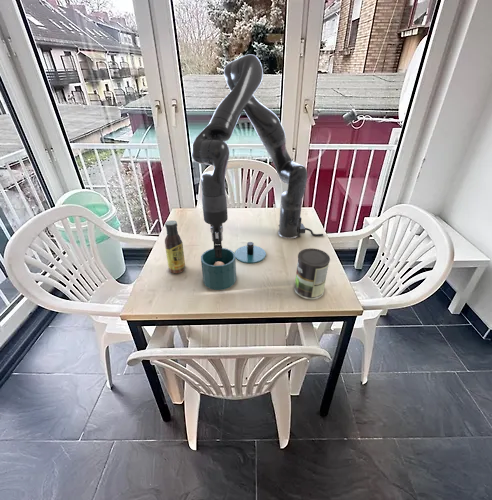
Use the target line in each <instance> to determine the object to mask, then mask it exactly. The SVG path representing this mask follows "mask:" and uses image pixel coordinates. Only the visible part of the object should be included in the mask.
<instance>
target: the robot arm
mask: <svg viewBox="0 0 492 500" xmlns="http://www.w3.org/2000/svg"><path fill="white" fill-rule="evenodd" d="M223 75H224V79H225V83H226V84H227V87H228V88H229V90H230V91H229V92H228V94H227V95H226V96H225V97H224V98H223V99H222V101H221V102H220V103H219V104H218V106H217V107H216V108H215V110H214V112H213V114H212V117H211V118H210V121H209V123H208V124H207V125H206V126H205V127H204V128H203V129H202V130H201V131H200V132H199V134H197V136H196V137H195V139H194V140H193V142H192V145H191V148H190V153H191V157H192V160H193V161H194V162H195V163H197V164H200V165H206V166H213V170H211V171H206V172H203V173H202V174H201V176H200V187H201V204H202V213H203V221H204V223H206V224H208V225H209V226H210V234H211V241H212V242H213V248H214V250H215V257H216V258H221V257H222V248H223V244H222V242H223V241H224V238H223V237H224V236H223V232H224V228H223V227H224V226H223V224H225V223H226V222H227V221H228V218H229V216H228V200H227V195H226V194H227V193H226V174H227V168H228V164H229V159H230V148H229V144H228V143H227V142H228V141H229V140H230V139H231V137H232V135H233V133H234V131H235V128H236V126H237V123H238V121H239V119H240V117H241V115H242V113H243V111H244V113H245V114H246V116H247V118H248V119H249V121H250V123H251V125H252V127H253V128H254V130H255V132H256V134H257V136H258V138H259V140H260V142H261V144H262V145H263V146H264V148H265V150H266V152H267V154H268V155H269V157H270V159H271V161H272V164H273V165H274V167H275V171H276V173H277V175H278V177H279V179H280V180H281V182H283V183H284V184H286V185H287V190H285V191H283V192H281V195H280V206H279V207H280V209H279V220H278V221H279V224H278V236H280V237H281V238H284V239H296V238H300V237H301V236H300V235H301V234H306V231H308V232H310V234H311V235H312V236H313V237H323V236H324V233H314V231H313V230H312V229H310V228H308V227H305V225H304V223H303V222H302V217H301V213H302V205H303V198H304V195H305V192H306V188H307V181H308V170H307V168H306V166H304V165H302V164H300V163H298V162H295V161H293V159H292V157H291V156H290V154H289V152H288V150H287V147H286V144H287V143H286V142H287V136H286V132H285V129H284V126H283V124H282V123H281V120H280V119H279V117H278V115H277V114H276V113H274V112H273V111H272V110H271V109H270V108H268V107H267V106H265V105H264V104H262V103H261V102H260V101H259V100H258V99H257V98H256V97H255V95H254V94H255V93H256V91H257V90H258V88H259V87H260V85H261V83H262V81H263V77H264V70H263V65H262V63H261V60H260V59H259V57H258V56H257V55H255V54H250V53H249V54H245V55H243V56H240V57H238V58H235V59H234V60H232V61H230V62H228V63H226V64H225V66H224V70H223Z"/></svg>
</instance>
